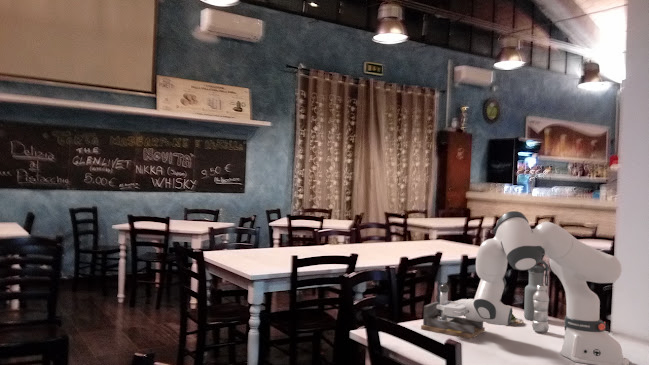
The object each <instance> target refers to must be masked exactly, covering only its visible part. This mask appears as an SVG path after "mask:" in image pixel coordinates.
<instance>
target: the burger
mask: <svg viewBox="0 0 649 365" xmlns="http://www.w3.org/2000/svg"><path fill="white" fill-rule="evenodd" d="M523 323H524V320H523V319H521V318H518V317H516V316H515V315H514V314H513V313H512V317H511V321H510V323H509V324H508V325H520V324H523Z"/></svg>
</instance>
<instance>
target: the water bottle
mask: <svg viewBox="0 0 649 365" xmlns="http://www.w3.org/2000/svg"><path fill="white" fill-rule="evenodd" d="M541 264H543V265H541ZM549 271H550V265H548V263H547V262H546V261H545V260H543V259H541V260H540V262H539V263H538V264H537V265H536V266H535V267H533V268H531V269H529V270H527V272H528V284H527V285H526V286H525V287H524V304H523V305H524V306H523V307H524V308H523V309H524V312H523V316H524V318H525V319H526V320H528V321H532V322H533V319H534V302H533V295H534V294H535V292H536V291H537V285H545V286H546V287H549V274H548V273H549ZM545 292H546V293H547V294H548V289H547V288H546V290H545Z"/></svg>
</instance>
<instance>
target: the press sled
mask: <svg viewBox="0 0 649 365" xmlns="http://www.w3.org/2000/svg"><path fill="white" fill-rule="evenodd" d="M438 288H439V293H440V294H439V304H440V305H443V306H445V305H447V304H448V301H449V300H448V299H449V298H448V296H449V291H450V287H449V285H447V284H446V283H444V284H443V283H442V284H441V285H440V286H439V287H438ZM439 314H440V316H438V317H436V318H434V319H439V320H444V321H450V322H454V319H453V318H448V317H447V315H444V314H443V311H442V310H440V309H439Z"/></svg>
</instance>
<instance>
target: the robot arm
mask: <svg viewBox="0 0 649 365" xmlns="http://www.w3.org/2000/svg"><path fill="white" fill-rule="evenodd" d="M493 234H494V237H493V238H488V239H485V240H483V241H482V243H480V246H479V248H478V250H477V253H476V256H475V271H476V275H477V276H478V278H479V279H480V280H479V284H478V287H477V290H476V292H475V295H474V298H468V299H467V298H461V299H458V300H454V301H452V300H448V304H447V305H445V306H443V305H440V303H439V304H438V305H437V306H436V308H437V309H438V310H439V311H440V310H442V311H443V314H444V315H449V316H456V317H462V316H463V317H464V318H466V319H467V320H471V321H477V322H483V323H487V324H488V325H494V326H495V325H496V326H505V325H506V326H508V325H510V324H509V323H510V321H511V317H512V314H513V307H512V306H510V305H508V304H507V305H506V304H504V303H503V302H502V301H501V300H502V295H503V293H504V291H505V288H506V285H507V280H506V278H505V275H506V273H507V269H508V264H509V265H510V267H512V269H513V270H517V271H521V272H522V271H528V270H529V269H531V268H533V267H535V266H536V265H539V264H540V263H539V262H540V260H543V259H544V257H545V256H546V257H548V258H549V262H548V263H549V269H550V270H551V272H552V273H553V274H554V275H556V276H557V279H559V281H560V282H561V284H562V286H563V289H564V292H565V293H564V294H565V299H566V302H565V304H566V310H565V311H566V314H565V316H564V326H563V327H564V339H563V342H562V347H561V349H560V355H562V356H564V357H566V358H568V359H570V360H572V361H573V362H575V363H582V364H589V365H630V359H629V358H628V357H627V356H624V354H623V349H622V346H621V344H620V342H619V341H618V340H616V339H615V337H613V336H611V335H610V334H609V333H608V332H607V331H606V321H603V320H602V319H600V309H601V307H600V305H601V301H600V297H599V296H598V294H597V293H595V292H594V291H592V290H591V289H590V287H589V286H588V283H587V282H591V283H596V284H612V283H616V282H617V281H618V280H619V278H620V277H621V275H622V264H621V262H620V260H619V259H618V257H617V256H615V255H612V254H608V253H606V252H604V251H601V250H598V249H597V248H596V247H592V246H591V245H589V244H586V243H584V242H582V241H580V240H579V239H577V238H576V237H575V236H573V235H572V234H571V233H570V232H569V231H567V230H566V229H564V227H562V226H560V225H558V224H557V223H553V222H550V221H543V222H541V223H538V224H537V225H536V226H535V227H534V228H531V224H530V222H529V220H528V218H527V216H526V215H525V214H524V213H522V212H521V211H518V210H517V211H516V210H515V211H514V210H513V211H507V212H506V213H503V214H502V215H501V216H500V217H499V218H498V221H497V223H496V226H495V227H494V228H493Z"/></svg>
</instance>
